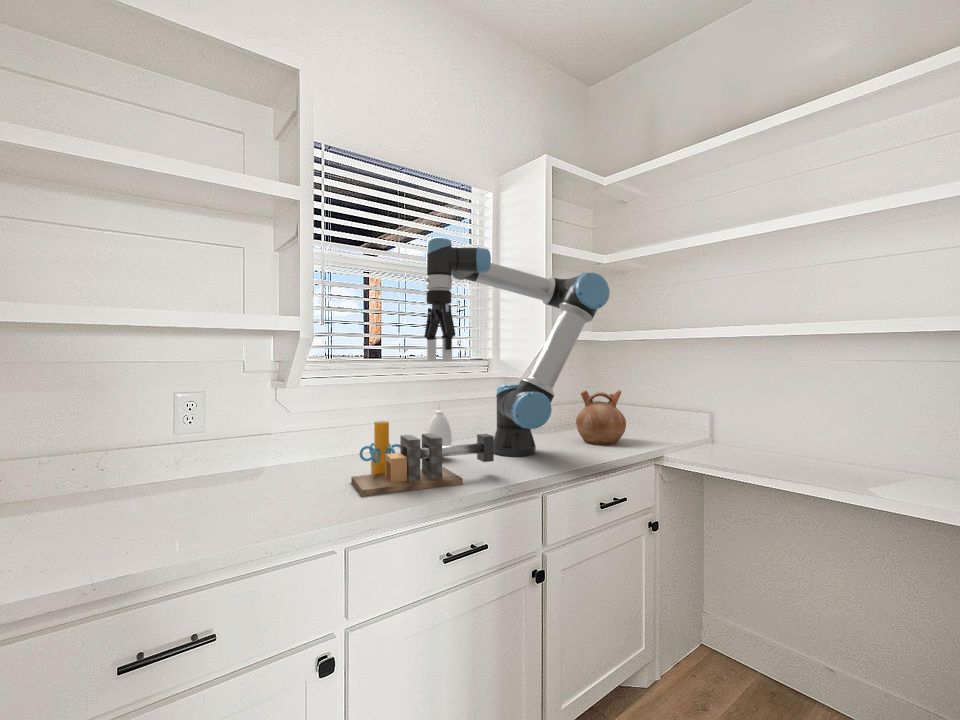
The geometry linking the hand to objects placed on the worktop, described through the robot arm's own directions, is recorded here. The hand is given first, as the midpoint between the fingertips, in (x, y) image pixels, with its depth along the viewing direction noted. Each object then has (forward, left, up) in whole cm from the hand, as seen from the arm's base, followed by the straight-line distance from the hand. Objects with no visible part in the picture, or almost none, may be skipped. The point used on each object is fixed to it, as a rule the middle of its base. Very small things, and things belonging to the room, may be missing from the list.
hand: (439, 361), depth 152 cm
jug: (-69, -10, -32) cm, 77 cm away
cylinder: (+19, +5, -32) cm, 37 cm away
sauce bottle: (-3, -9, -32) cm, 33 cm away
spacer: (+18, +16, -30) cm, 39 cm away
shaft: (+2, +16, -28) cm, 32 cm away
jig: (+15, +16, -32) cm, 39 cm away
